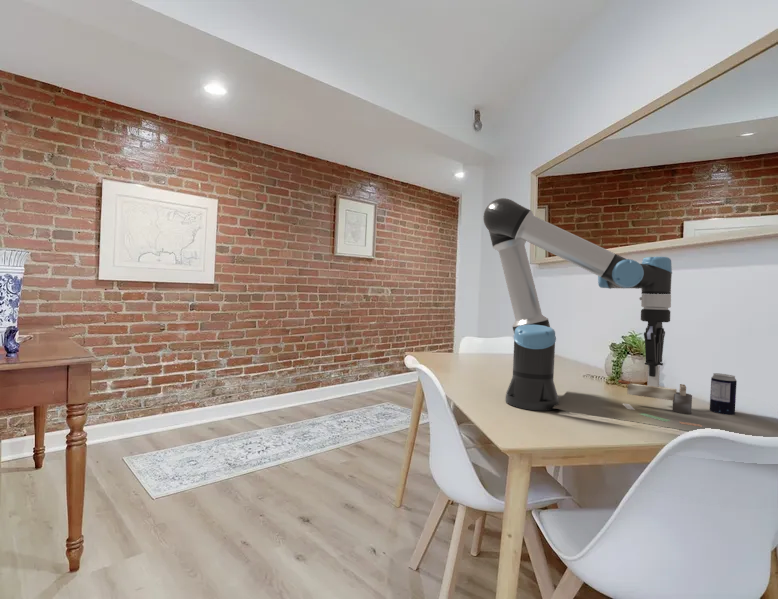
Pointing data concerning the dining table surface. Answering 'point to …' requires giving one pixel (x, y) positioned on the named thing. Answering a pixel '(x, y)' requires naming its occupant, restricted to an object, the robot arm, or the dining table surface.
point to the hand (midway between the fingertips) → (653, 386)
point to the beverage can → (723, 394)
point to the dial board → (657, 418)
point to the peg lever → (663, 395)
